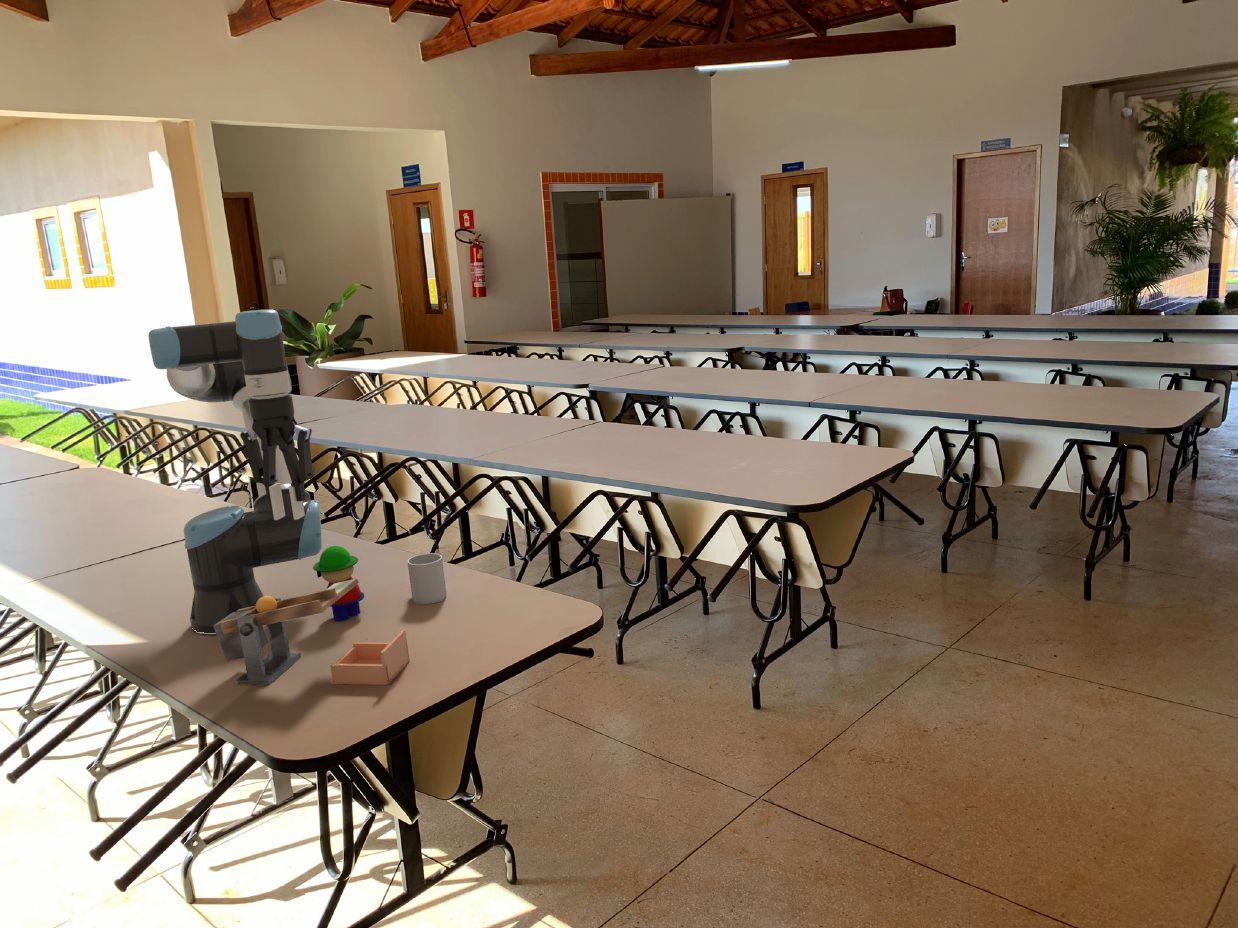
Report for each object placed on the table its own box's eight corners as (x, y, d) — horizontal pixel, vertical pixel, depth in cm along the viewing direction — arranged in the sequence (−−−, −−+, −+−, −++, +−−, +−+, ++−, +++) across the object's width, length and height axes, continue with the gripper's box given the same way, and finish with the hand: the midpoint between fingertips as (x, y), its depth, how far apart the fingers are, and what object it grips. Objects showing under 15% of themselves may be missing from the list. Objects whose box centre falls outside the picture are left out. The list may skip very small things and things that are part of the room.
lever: (225, 662, 161) (210, 623, 160) (269, 629, 175) (255, 592, 174) (331, 640, 156) (316, 599, 155) (367, 607, 170) (354, 569, 169)
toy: (333, 628, 181) (322, 557, 178) (314, 617, 188) (303, 548, 184) (373, 613, 187) (363, 544, 184) (354, 604, 193) (344, 537, 190)
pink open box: (333, 683, 157) (328, 651, 156) (357, 659, 166) (352, 629, 164) (388, 684, 155) (383, 652, 154) (409, 660, 164) (405, 629, 163)
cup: (422, 607, 189) (417, 567, 187) (400, 596, 196) (395, 557, 194) (453, 597, 193) (448, 557, 191) (430, 586, 201) (425, 548, 199)
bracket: (237, 684, 159) (226, 620, 157) (271, 656, 170) (261, 596, 167) (268, 684, 158) (257, 620, 156) (300, 656, 169) (291, 596, 166)
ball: (256, 620, 160) (248, 602, 159) (267, 613, 163) (259, 595, 163) (273, 616, 159) (265, 598, 159) (283, 608, 163) (276, 590, 162)
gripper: (217, 400, 164) (239, 524, 170) (300, 397, 161) (319, 522, 167) (241, 393, 172) (261, 512, 177) (321, 390, 168) (339, 511, 174)
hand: (289, 517), depth 172 cm, fingers open, 3 cm apart
